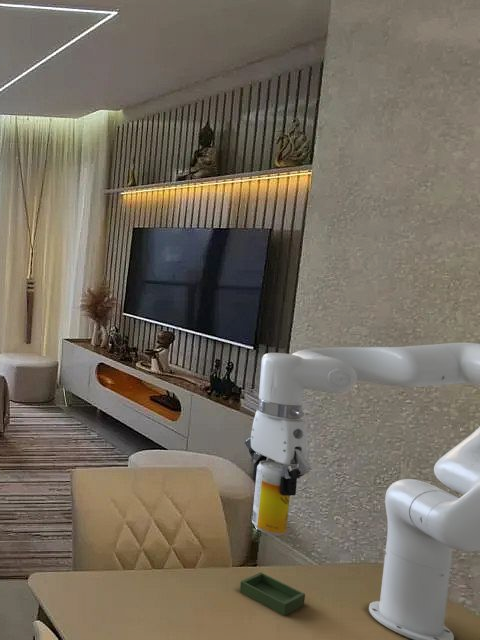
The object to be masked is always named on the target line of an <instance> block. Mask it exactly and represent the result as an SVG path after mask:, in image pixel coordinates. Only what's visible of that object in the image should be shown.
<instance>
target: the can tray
mask: <svg viewBox="0 0 480 640" xmlns="http://www.w3.org/2000/svg"><path fill="white" fill-rule="evenodd" d="M239 592H240V593H241V594H243V595H245V596H247V597H249V598H250V599H253V600H254V601H256V602H258V603H260V604H262V605H263V606H266V607H268V608H269V609H271V610H273V611H275V612H277V613H279V614H281V615H282V616H286V615H288V614H290V613H292V612H293V611H295V610H297V609H299V608H301V607H303V606H304V605H305V602H306V601H305V600H306V593H305V592H302V591H300V590H298V589H296V588H293V587H292V586H290V585H288V584H286V583H283V582H281V581H279V580H278V579H275V578H273V577H272V576H269V575H267V574H265V573H263V572H262V571H261V572H258V573H256V574H253V575H252V576H249V577H247V578H245V579H243V580H241V581H240V586H239Z"/></svg>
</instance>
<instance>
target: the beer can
mask: <svg viewBox="0 0 480 640" xmlns="http://www.w3.org/2000/svg"><path fill="white" fill-rule="evenodd" d="M289 471H291V467H289ZM281 477H284V474H283V471H282V467H281V463H278V462H276V461H274V460H268V461H260V463H259V465H258V466H257V474H256V481H255V486H254V496H253V506H252V515H251V516H252V518H251V522H252V524H253V526H254V527H255V528H256V529H257V530H258V531H260V532H262V533H264V534H267V535H271V536H282V535H283V534H285V533H287V528H288V519H289V518H288V517H289V511H290V510H289V507H290V498H291V496H283V495H281V494H280V482H281Z"/></svg>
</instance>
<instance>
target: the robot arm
mask: <svg viewBox="0 0 480 640" xmlns="http://www.w3.org/2000/svg"><path fill="white" fill-rule="evenodd" d="M260 363H261V364H260V374H259V376H260V377H259V390H258V404H257V409H256V411H255V414H254V418H253V421H252V426H251V434H250V437H249V438H248V439H246V440H245V441H244V444H245V447H246V448H247V450H248V453H249V454H250V456H251V462H252V463H253V471H252V481H254V482H256V474H257V466H258V465H259V463H260V461H269V459H270V460H271V461H274V462H278V463H281V467H282V471H283V474H284V477H281V482H280V494H281V495H283V496H290V497H291V496H296V494H297V483H298V480H300V479H301V477H303V476H305V475H306V474H308V473H309V472H311V471H312V470H313V469H312V466H311V465H310V463H309V462H308V432H307V425H306V422H305V420H304V419H302V418H303V417H304V416H305V412H304V411H303V403H304V402H303V401H304V390H309V391H310V390H311V391H317V392H321V393H326V394H342V393H346V392H348V391H350V390H351V389H352V388H354V387H355V385H356V383H357V381H358V382H359V381H360V382H367V383H372V384H378V385H384V386H389V387H399V388H417V387H433V386H434V387H435V386H449V385H473V386H476V387H480V343H479V342H478V343H476V342H467V341H465V342H447V343H445V342H444V343H434V344H421V345H408V346H407V345H405V346H366V347H365V346H363V347H362V346H360V347H359V346H337V347H336V346H335V347H334V346H333V347H320V348H319V347H318V348H308V349H307V348H306V349H301V350H298V351H295V352H293V353H285V352H268V353H267V352H266V353H265V354H263V356H262V357H261V362H260ZM289 468H290V471H289ZM433 474H434V476H435V477H436V479H437V480H438V481H440V482H441V484H443V485H444V486H446V487H448V488H449V489H451V490H452V491H455V492H456V493H459V494H460V495H462V496H460V497H458V496H456V495H455V494H452V493H450V492H448V491H446V490H444V489H442V488H440V487H437V486H436V485H433V484H432V483H429V482H426V481H423V480H420V479H414V478H404V479H403V478H402V479H398V480H396V481H394V482H392V483H391V484H390V485H389V486H388V488H387V489H386V491H385V495H384V505H385V512H386V520H387V534H386V542H385V543H386V544H385V553H384V560H383V570H382V577H381V587H380V588H381V589H380V597H379V600H376V601H372V602H370V603H369V605H368V612H369V614H370V615H371V616H372V617H373V618H374V619H375V620H376V621H377V622H378V623H380V624H381V625H383V626H384V627H386V628H387V629H389V630H391V631H393V632H395V633H397V634H398V635H400V636H404V637H405V638H408V639H411V640H455V635H454V633H453V632H452V630H450V629H449V628H448V627H447V626H446V625H445V619H446V610H447V602H448V594H449V587H450V578H451V569H452V564H453V563H452V562H453V552H452V550H455V551H459V552H463V553H474V552H480V425H479V426H478V428H476V429H475V430H474V431H473V432H472V433H471V434H470V435H468V436H467V437H465V438H464V439H463V440H462V441H461V442H459V443H458V444H457V445H455V446H454V447H453V448H451V449H450V450H449V451H448V452H446V453H445V454H444V455H442V456H441V457H439V459H438V460H437V461H436V462H435V464H434V466H433Z"/></svg>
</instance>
